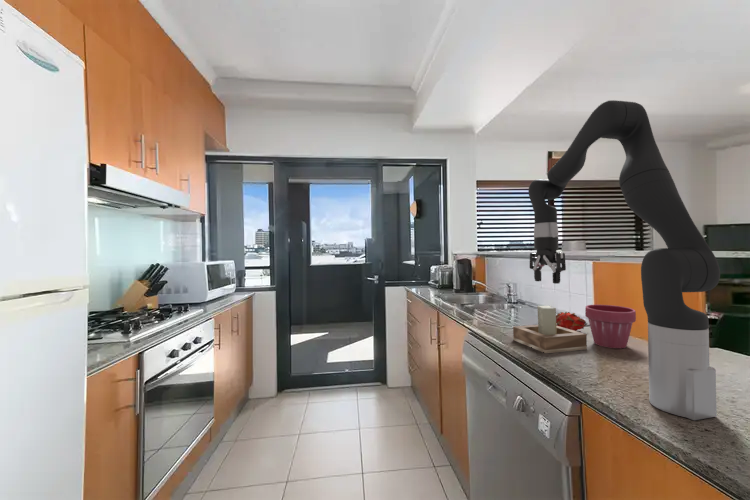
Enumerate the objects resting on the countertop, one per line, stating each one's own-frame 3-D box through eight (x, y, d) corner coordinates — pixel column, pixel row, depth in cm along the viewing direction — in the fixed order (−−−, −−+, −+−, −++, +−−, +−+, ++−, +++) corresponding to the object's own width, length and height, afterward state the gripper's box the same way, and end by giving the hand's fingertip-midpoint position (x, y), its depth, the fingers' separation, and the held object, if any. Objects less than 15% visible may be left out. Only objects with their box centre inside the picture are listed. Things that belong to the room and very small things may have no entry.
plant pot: (645, 352, 102) (644, 312, 102) (593, 349, 106) (593, 310, 106) (625, 340, 115) (624, 305, 115) (580, 337, 120) (580, 303, 120)
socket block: (586, 349, 106) (586, 334, 106) (545, 353, 102) (545, 337, 102) (550, 336, 122) (549, 323, 122) (513, 340, 118) (513, 326, 118)
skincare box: (557, 344, 109) (556, 308, 109) (543, 343, 109) (542, 308, 110) (550, 339, 115) (550, 305, 115) (537, 338, 116) (537, 305, 116)
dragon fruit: (550, 333, 133) (584, 340, 128) (553, 324, 127) (589, 332, 121) (552, 314, 137) (585, 321, 132) (555, 305, 131) (590, 312, 126)
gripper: (522, 237, 118) (523, 281, 118) (552, 235, 104) (553, 284, 104) (540, 237, 120) (541, 280, 120) (571, 235, 106) (572, 283, 106)
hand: (546, 282), depth 112 cm, fingers open, 8 cm apart
